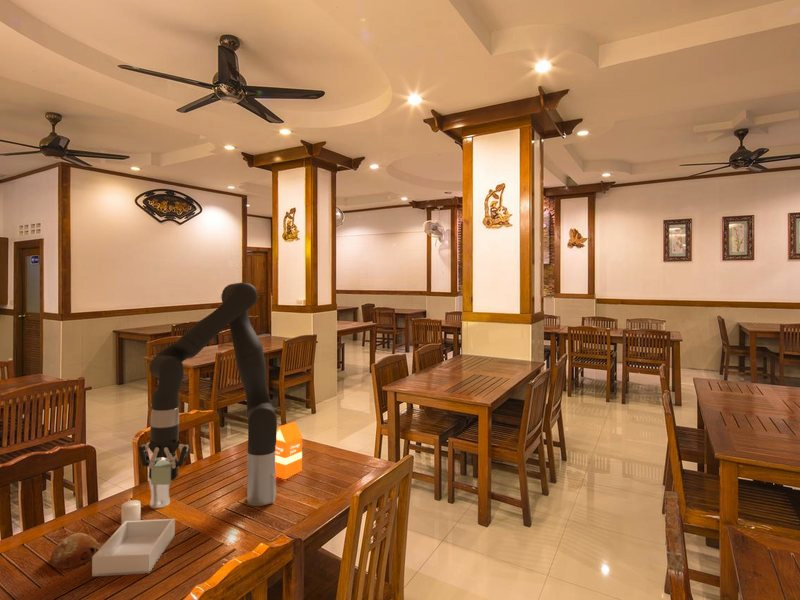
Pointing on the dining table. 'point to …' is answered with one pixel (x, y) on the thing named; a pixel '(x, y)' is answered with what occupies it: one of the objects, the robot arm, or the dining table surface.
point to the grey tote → (133, 548)
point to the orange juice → (288, 451)
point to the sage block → (161, 473)
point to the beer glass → (159, 492)
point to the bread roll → (74, 551)
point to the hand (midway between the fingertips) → (163, 479)
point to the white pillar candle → (131, 511)
